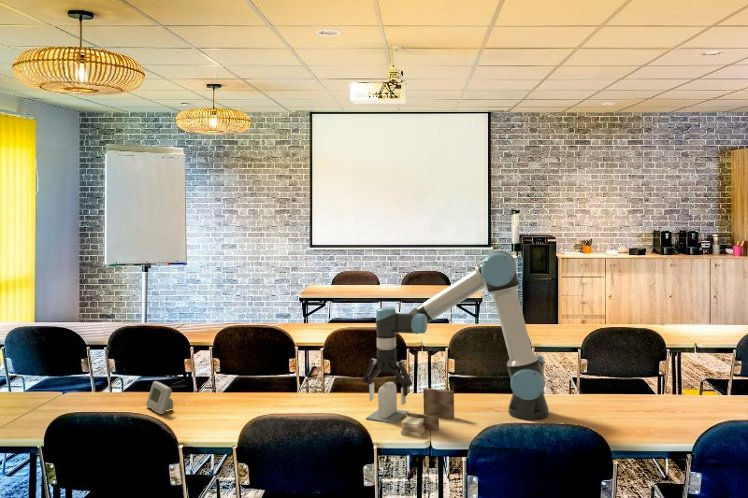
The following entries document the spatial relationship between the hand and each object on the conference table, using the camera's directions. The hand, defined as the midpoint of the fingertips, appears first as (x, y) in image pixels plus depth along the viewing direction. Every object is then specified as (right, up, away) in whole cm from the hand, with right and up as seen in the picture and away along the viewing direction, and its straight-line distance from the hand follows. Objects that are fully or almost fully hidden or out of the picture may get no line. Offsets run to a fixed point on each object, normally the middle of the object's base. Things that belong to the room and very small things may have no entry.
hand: (387, 401), depth 238 cm
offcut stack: (+9, -7, -18) cm, 21 cm away
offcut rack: (+16, -6, -8) cm, 19 cm away
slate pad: (0, -6, 0) cm, 6 cm away
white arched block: (0, -5, 0) cm, 5 cm away
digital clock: (-94, -7, +14) cm, 95 cm away
